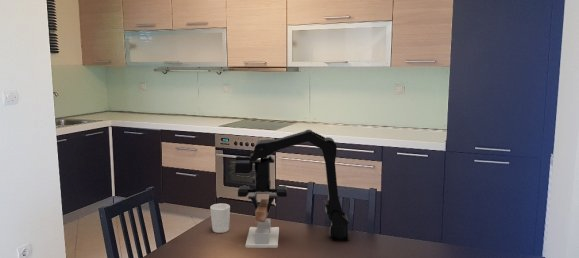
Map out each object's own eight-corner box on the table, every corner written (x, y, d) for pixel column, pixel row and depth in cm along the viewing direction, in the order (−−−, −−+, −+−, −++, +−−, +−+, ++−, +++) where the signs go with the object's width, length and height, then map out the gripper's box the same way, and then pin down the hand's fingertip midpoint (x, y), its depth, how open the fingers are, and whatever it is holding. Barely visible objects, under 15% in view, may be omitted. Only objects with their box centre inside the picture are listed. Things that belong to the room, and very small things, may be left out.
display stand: (279, 229, 192) (279, 217, 191) (277, 247, 174) (277, 234, 173) (250, 229, 192) (249, 217, 191) (245, 247, 174) (245, 234, 173)
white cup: (220, 235, 186) (220, 211, 185) (207, 230, 191) (206, 207, 189) (234, 229, 192) (233, 205, 191) (220, 224, 197) (220, 202, 196)
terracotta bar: (270, 208, 189) (270, 199, 188) (264, 222, 174) (264, 212, 173) (261, 208, 189) (261, 199, 188) (255, 222, 174) (255, 211, 174)
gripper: (287, 168, 187) (287, 205, 189) (240, 168, 187) (241, 205, 189) (286, 175, 176) (286, 215, 178) (237, 175, 176) (238, 215, 178)
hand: (263, 212), depth 181 cm, fingers closed on terracotta bar, 4 cm apart
